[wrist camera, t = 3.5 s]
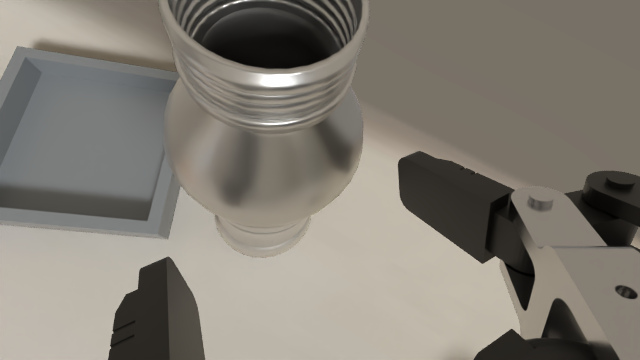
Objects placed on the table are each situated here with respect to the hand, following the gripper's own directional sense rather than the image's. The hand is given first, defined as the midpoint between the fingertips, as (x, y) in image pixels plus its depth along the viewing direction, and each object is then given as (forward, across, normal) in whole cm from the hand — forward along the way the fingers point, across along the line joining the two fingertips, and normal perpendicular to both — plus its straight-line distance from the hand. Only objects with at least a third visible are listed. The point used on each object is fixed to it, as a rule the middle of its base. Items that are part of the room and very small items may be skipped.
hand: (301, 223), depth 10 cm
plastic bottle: (+12, 0, +8) cm, 15 cm away
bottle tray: (+19, +9, +1) cm, 21 cm away
